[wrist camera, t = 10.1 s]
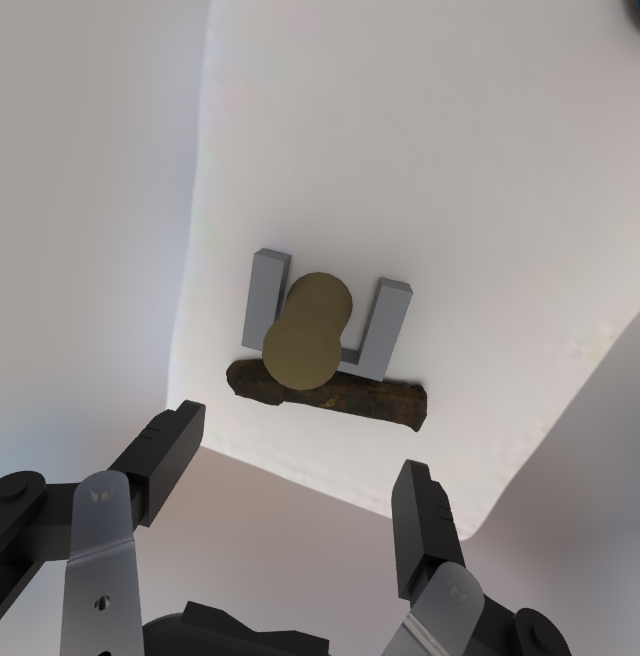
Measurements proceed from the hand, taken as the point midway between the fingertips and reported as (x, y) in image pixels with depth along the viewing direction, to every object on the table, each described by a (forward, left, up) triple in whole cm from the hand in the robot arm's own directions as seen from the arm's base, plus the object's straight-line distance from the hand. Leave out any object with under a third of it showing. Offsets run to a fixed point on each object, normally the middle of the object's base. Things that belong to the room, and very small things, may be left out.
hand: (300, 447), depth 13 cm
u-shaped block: (+1, -1, -19) cm, 19 cm away
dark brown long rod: (+9, +1, -19) cm, 21 cm away
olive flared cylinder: (+1, -1, -19) cm, 19 cm away
